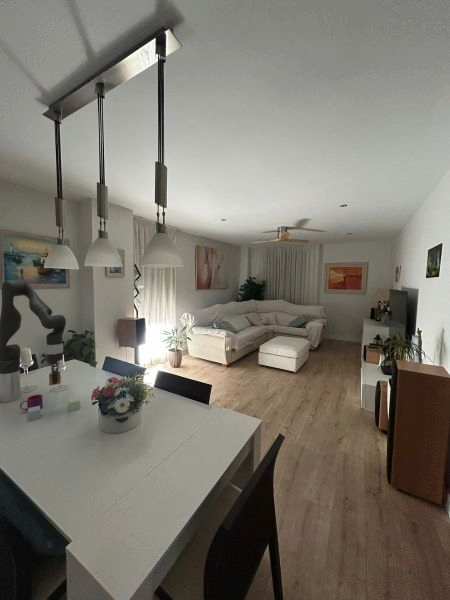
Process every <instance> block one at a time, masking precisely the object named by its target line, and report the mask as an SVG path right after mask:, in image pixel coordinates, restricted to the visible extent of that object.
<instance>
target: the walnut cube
mask: <svg viewBox="0 0 450 600" xmlns="http://www.w3.org/2000/svg"><path fill="white" fill-rule="evenodd" d="M53 375H57V374H53ZM48 376H49V377H48V382H49V383H48V385H49V386H55V385H60V384H61V383H62V382H61V379H62V378H61V377H62V375H61V372H60V371H59V372H58V377H57V379H58V383H57V384H53V383H52V373H51V372H50V373H48Z"/></svg>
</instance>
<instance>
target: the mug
mask: <svg viewBox="0 0 450 600" xmlns="http://www.w3.org/2000/svg"><path fill="white" fill-rule="evenodd" d="M23 403H26V404H27V405H26V406H27V408H22V404H23ZM36 406H40V410H41V409H43V395H42V394H33V395H30V396H29V397H27V400H24V401H21V402H20V404H19V408H20V409H21V410H23V411H28V408H32V407H36Z"/></svg>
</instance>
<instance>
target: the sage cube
mask: <svg viewBox="0 0 450 600" xmlns="http://www.w3.org/2000/svg"><path fill="white" fill-rule="evenodd" d="M80 399H81V398H80V397H79V396H78V397H74V398H70V399H68V410H69V412H72V411H78V410H80V409H81V400H80Z"/></svg>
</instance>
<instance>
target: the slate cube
mask: <svg viewBox="0 0 450 600" xmlns="http://www.w3.org/2000/svg"><path fill="white" fill-rule="evenodd" d="M40 419H41V409H40V406H36V407H32V408H28V410H27V422H32V421H36V420H40Z"/></svg>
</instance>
